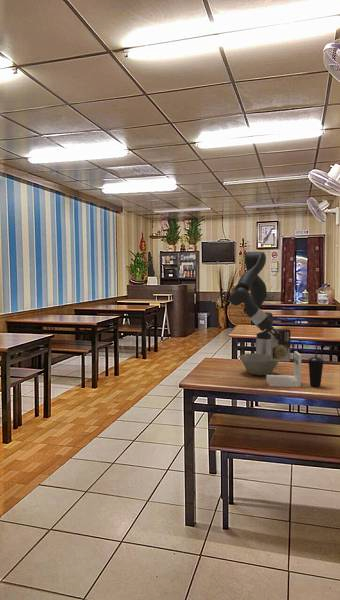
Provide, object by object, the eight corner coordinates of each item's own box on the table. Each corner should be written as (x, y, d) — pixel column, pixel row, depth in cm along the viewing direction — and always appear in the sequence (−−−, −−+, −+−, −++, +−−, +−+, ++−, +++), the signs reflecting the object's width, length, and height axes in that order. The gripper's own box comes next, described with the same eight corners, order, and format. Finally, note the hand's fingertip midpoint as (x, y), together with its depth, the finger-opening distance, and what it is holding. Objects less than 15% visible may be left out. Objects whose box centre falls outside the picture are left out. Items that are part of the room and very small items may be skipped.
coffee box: (287, 359, 219) (288, 328, 219) (290, 361, 213) (291, 329, 212) (270, 358, 220) (270, 328, 220) (271, 361, 214) (272, 329, 213)
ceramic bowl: (284, 373, 242) (285, 355, 242) (272, 381, 222) (273, 362, 222) (247, 368, 254) (248, 351, 253) (233, 375, 234) (233, 357, 233)
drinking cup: (319, 384, 217) (320, 345, 216) (325, 388, 209) (326, 348, 208) (305, 384, 216) (306, 345, 215) (310, 388, 209) (311, 347, 208)
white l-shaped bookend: (266, 380, 224) (267, 350, 223) (295, 381, 222) (296, 351, 222) (269, 386, 212) (270, 354, 211) (300, 387, 210) (301, 355, 210)
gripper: (268, 315, 209) (292, 340, 209) (264, 313, 223) (286, 336, 223) (257, 326, 210) (280, 350, 209) (254, 323, 224) (276, 346, 224)
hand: (283, 343), depth 216 cm, fingers closed on coffee box, 6 cm apart
